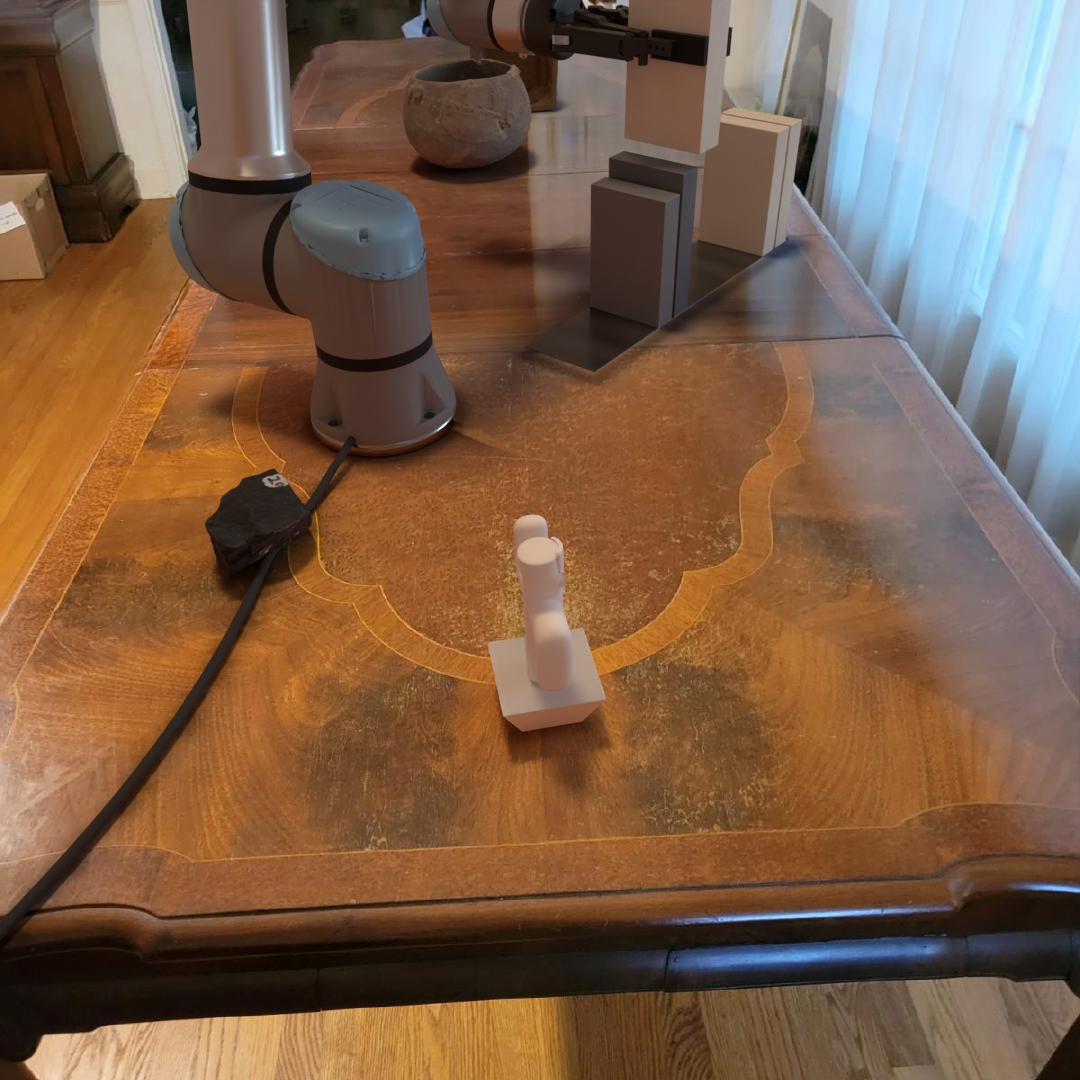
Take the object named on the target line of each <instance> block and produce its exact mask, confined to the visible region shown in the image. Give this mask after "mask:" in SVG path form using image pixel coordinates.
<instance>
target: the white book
mask: <svg viewBox="0 0 1080 1080" xmlns="http://www.w3.org/2000/svg"><path fill="white" fill-rule="evenodd" d="M628 7H629V13H628V27H631V28H636V29H640V30H646V31H649V36H650V37H651V33H652V30H654V29H660V30H667V31H674V32H681V33H688V34H696V35H703V36H709V46H708V60H707V65H706V66H704V67H703V66H697V65H690V64H684V63H678V62H671V61H665V60H659V59H653V58H650V56H651V55H650V54H648V65H646V66H638V58H637V57H633V60H631V61H629V62H626V75H625V77H626V79H625V108H624V133H623V134H624V135H623V136H624V139H626V140H631V141H635V142H641V143H644V144H649V145H654V146H658V147H663V148H668V149H672V150H676V151H680V152H681V151H682V152H685V153H690V154H695V155H699V156H700V155H701V154H705V151H707V150H709V149H711V148H713V147H715V146H717V145H718V139H719V128H720V117H721V114H722V105H723V96H724V94H723V93H724V82H725V73H726V72H725V71H726V64H727V63H726V62H727V57H726V52H727V41H728V30H729V27H730V18H731V17H730V16H731V8H732V0H628Z"/></svg>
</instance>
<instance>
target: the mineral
mask: <svg viewBox="0 0 1080 1080" xmlns="http://www.w3.org/2000/svg"><path fill="white" fill-rule="evenodd" d="M305 504H306V503H304V502H302V500H301V499H300V497H299V496H298V494H297V493H296V492H295V491H294V489H293V487H292V486H291V485H290V483H289V482H288V480H287V479H286V478H285V476H284V475H283V474H282V473H281V472H279V471H278V470H277V469H276V468H273V467H272V468H270V469H268V470H265V471H263V472H261V473H258V474H253V475H249V476H246V477H243V478H241V480H240V481H239V483H238V485H237V486H235V487H232V488H231V489H230V490H228V491H227V492H225V493H224V494H223V495H222V496H221V497H220V500H219V504H218V507H217V509H216V511H215V512H214V513H212V515H210V516H208V518H206V520H205V522H204V526H205V530H206V532H207V534H208V536H209V537H210V538H209V540H210V542H211V545H212V549H213V553H214V555H215V560H216V564H217V566H218V567H219V569H220V571H221V572H222V573H223V574H224V576H225V577H231V576H233V575H235V574H239V573H240V572H242V571H244V570H245V569H247V568H249V567H250V566H253V565H254V564H257V563H259V562H261V561H262V559H263V557H264V556H265V555H266V554H268V553H269V552H272V551H274V550H276V549H279V551H281V550H282V549H284V548H286V547H287V546H289V545H290V544H291V543H293V542H294V541H296V540H298V539H301V538H302V537H303V536H304V535H305V534H306V533H307V532H308V530H310V528H311V527H312V524H313V519H312V514H311V512H309V511H308V509H307V507H306V506H305Z"/></svg>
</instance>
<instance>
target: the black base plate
mask: <svg viewBox="0 0 1080 1080" xmlns="http://www.w3.org/2000/svg"><path fill="white" fill-rule="evenodd" d="M788 240H790V238H789V237H786V239H785V242H787V241H788ZM785 242H783V243H782V244H784V243H785ZM782 244H780V245H779V246H781V245H782ZM779 246H777V247H776V248H773V250H771V251H770V252H768V253H767V254H766V255H768V254H769V253H771V252H773V251H774V250H775V249H777V248H778V247H779ZM766 255H764V256H758V255H755V254H751V253H747V252H743V251H739V250H735V249H732V248H728V247H724V246H720V245H716V244H712V243H708V242H705V241H701V240H696V241H694V242H692V252H691V265H690V278H689V291H688V304H687V309H686V310H688V309H690V308H692V306H694V305H695V304H697V303H699V302H700V301H701V300H702V299H704V298H705V297H707V296H708V295H710V294H711V293H713V292H714V291H716V290H718V289H719V288H720V287H721V286H723V285H724V284H726V283H727V282H729V281H730V280H731V279H733V278H734V277H736V276H737V275H739V274H740V273H742V272H743V271H745V270H746V269H748V268H750V266H752V265H753V264H755V263H756V262H758V261H759V260H761V259H762V258H764V257H765V256H766ZM686 310H684V311H683V312H685V311H686ZM683 312H681V313H680V314H678V315H677V316H675V317H672V319H671V320H669V321H668V322H667V323H669V322H670V321H672V320H673V319H675V318H677V317H678V316H679V315H681V314H682V313H683ZM667 323H665V324H664V325H667ZM664 325H662V326H661V327H663V326H664ZM661 327H659V328H656V327H652V326H649V325H646V324H643V323H640V322H637V321H634V320H631V319H627V318H624V317H621V316H618V315H615V314H612V313H609V312H605V311H602V310H599V309H596V308H593V307H590V306H589V307H587V308H586V309H584V310H583V311H580V312H579V313H577V314H576V315H573V317H570V318H569V319H568V320H566V321H564V322H562V323H561V324H559V325H558V326H556V327H554V328H553V329H551V330H550V331H548V332H547V333H545V334H543V335H542V336H540V337H538V338H537V339H535V340H533V341H532V342H530V343H529V344H527V345H525V346H524V348H525V349H529V350H532V351H535V352H536V353H539V354H543V355H545V356H548V357H551V358H554V359H556V360H559V361H562V362H565V363H567V364H570V365H573V366H575V367H579V368H582V369H584V370H587V371H590V372H593V373H596V372H597V371H600V370H601V369H602V368H603V367H605V366H606V365H608V364H609V363H611V362H612V361H614V360H616V358H618V357H619V356H621V355H622V354H625V352H627V351H628V350H630V349H631V348H632V347H634V346H635V345H637V344H638V343H640V342H642V341H643V340H644V339H646V338H647V337H649V336H650V335H651V334H653V333H655V332H656V331H657V330H659V329H660V328H661Z"/></svg>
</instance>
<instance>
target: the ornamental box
mask: <svg viewBox="0 0 1080 1080" xmlns="http://www.w3.org/2000/svg"><path fill="white" fill-rule="evenodd" d="M469 59H474V60H475V61H477V62H478V61H480V60H481V59H490V60H495V61H500V62H503V63H506V64H509V65H511V66H512V65H515V66H516V67H517V68H518V69H519V70H520V74H519V76H520V77H521V79H522V81H523V83H524V85H525V88H526V90H527V94H528V97H529V101H530V107H531V113H532V112H539V111H551V110H552V111H553V110H557V109H558V107H557V95H558V93H557V88H558V73H559V60H553V59H548V58H542V57H538V56H536V55H534V56H533V55H527V57H526V58H525V59H522V58H520V57H519V53H517V52H509V51H502V50H497V49H490V48H483V47H476V46H469Z"/></svg>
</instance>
